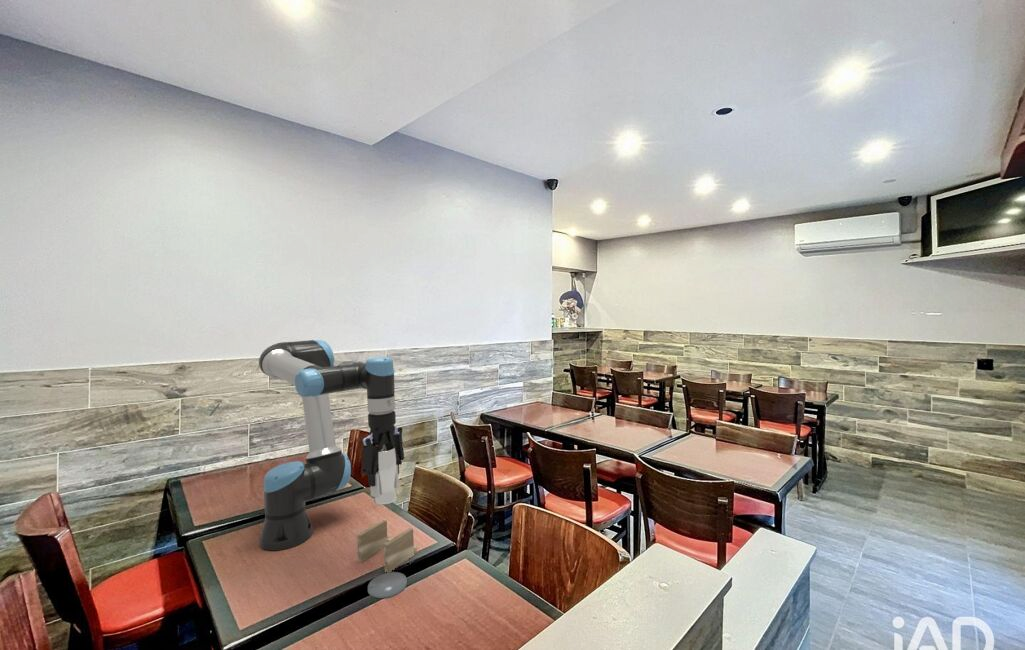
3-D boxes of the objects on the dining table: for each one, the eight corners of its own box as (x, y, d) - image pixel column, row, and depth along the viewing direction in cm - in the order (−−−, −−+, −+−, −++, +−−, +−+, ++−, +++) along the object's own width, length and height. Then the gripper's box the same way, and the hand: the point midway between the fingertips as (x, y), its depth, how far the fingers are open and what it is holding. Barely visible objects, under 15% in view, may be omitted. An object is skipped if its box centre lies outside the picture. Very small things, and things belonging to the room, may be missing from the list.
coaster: (359, 590, 111) (359, 588, 111) (388, 570, 120) (388, 568, 120) (386, 603, 106) (386, 600, 106) (414, 580, 115) (414, 578, 115)
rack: (358, 561, 125) (357, 534, 124) (387, 542, 134) (386, 518, 134) (388, 573, 118) (387, 545, 118) (416, 553, 128) (415, 527, 128)
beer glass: (391, 506, 118) (388, 452, 118) (367, 504, 119) (365, 451, 119) (402, 495, 125) (400, 444, 124) (380, 494, 126) (378, 444, 126)
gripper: (363, 420, 111) (367, 508, 112) (415, 405, 128) (418, 481, 129) (344, 418, 115) (347, 502, 115) (396, 403, 132) (399, 477, 132)
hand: (384, 491), depth 122 cm, fingers closed on beer glass, 7 cm apart
